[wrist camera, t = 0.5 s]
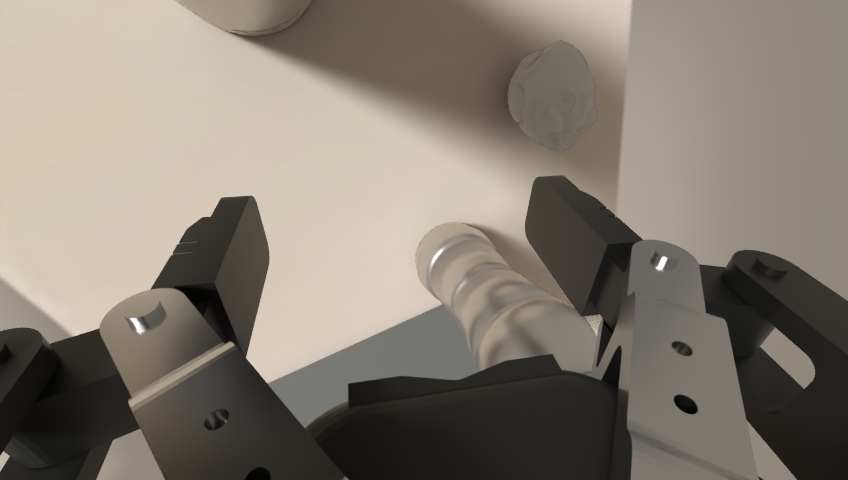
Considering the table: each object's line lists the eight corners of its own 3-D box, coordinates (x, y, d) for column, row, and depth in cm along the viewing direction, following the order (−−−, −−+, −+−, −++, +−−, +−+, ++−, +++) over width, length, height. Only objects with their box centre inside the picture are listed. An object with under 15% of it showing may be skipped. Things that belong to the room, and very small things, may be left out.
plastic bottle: (424, 206, 31) (581, 361, 13) (493, 227, 33) (703, 382, 16) (398, 275, 33) (506, 498, 15) (465, 290, 35) (628, 497, 17)
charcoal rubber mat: (265, 384, 33) (264, 389, 32) (509, 274, 36) (512, 277, 35) (314, 454, 37) (314, 459, 37) (528, 350, 40) (531, 354, 39)
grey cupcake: (487, 143, 31) (533, 156, 24) (491, 46, 28) (543, 33, 22) (553, 139, 32) (612, 150, 26) (562, 47, 29) (631, 35, 23)
